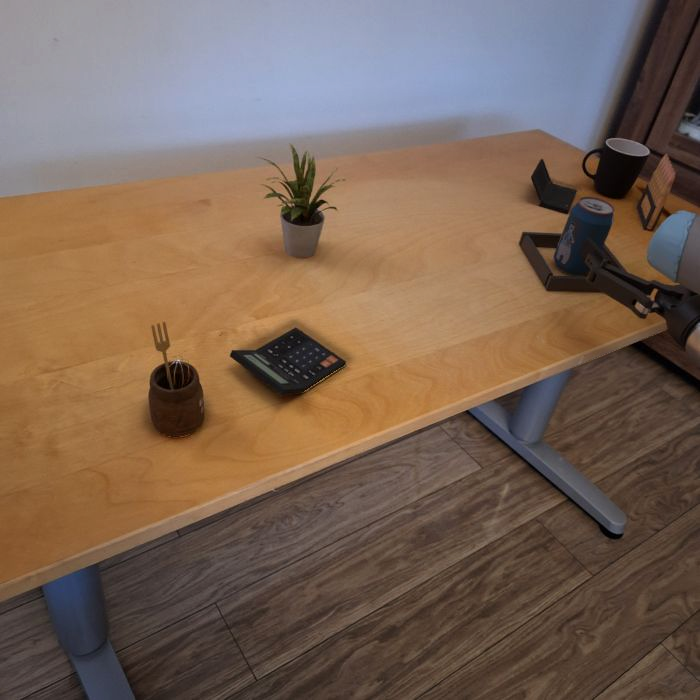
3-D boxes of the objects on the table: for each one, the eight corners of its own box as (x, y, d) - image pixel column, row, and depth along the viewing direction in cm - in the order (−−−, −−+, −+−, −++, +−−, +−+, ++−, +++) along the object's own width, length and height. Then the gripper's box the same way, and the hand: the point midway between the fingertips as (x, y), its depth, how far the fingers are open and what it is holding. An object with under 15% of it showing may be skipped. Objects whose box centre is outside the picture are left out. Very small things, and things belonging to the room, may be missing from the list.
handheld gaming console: (581, 208, 122) (563, 162, 119) (545, 223, 125) (527, 178, 122) (577, 192, 132) (561, 149, 128) (544, 206, 135) (527, 164, 131)
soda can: (596, 266, 109) (623, 204, 101) (584, 283, 104) (612, 219, 96) (558, 252, 111) (582, 190, 103) (545, 267, 106) (569, 204, 99)
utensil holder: (164, 447, 68) (154, 367, 60) (142, 411, 72) (130, 331, 64) (214, 427, 71) (210, 348, 63) (190, 393, 74) (184, 314, 67)
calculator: (345, 366, 81) (347, 349, 79) (280, 409, 74) (281, 391, 72) (295, 331, 86) (296, 314, 84) (229, 369, 79) (229, 351, 77)
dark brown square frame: (593, 246, 114) (598, 234, 113) (628, 292, 103) (634, 280, 102) (518, 243, 112) (522, 231, 110) (546, 290, 101) (551, 277, 99)
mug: (629, 188, 137) (649, 144, 130) (630, 205, 130) (651, 159, 123) (575, 175, 139) (591, 131, 132) (573, 191, 132) (590, 145, 125)
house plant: (239, 231, 104) (239, 136, 94) (314, 219, 110) (321, 129, 100) (271, 276, 95) (274, 177, 85) (350, 261, 101) (362, 167, 90)
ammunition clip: (653, 231, 122) (681, 174, 114) (643, 229, 122) (670, 172, 114) (645, 207, 130) (671, 152, 122) (636, 205, 130) (661, 151, 122)
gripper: (808, 306, 78) (705, 223, 94) (637, 312, 73) (558, 222, 89) (775, 351, 83) (682, 265, 99) (613, 359, 78) (541, 266, 93)
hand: (623, 244), depth 94 cm, fingers open, 13 cm apart
